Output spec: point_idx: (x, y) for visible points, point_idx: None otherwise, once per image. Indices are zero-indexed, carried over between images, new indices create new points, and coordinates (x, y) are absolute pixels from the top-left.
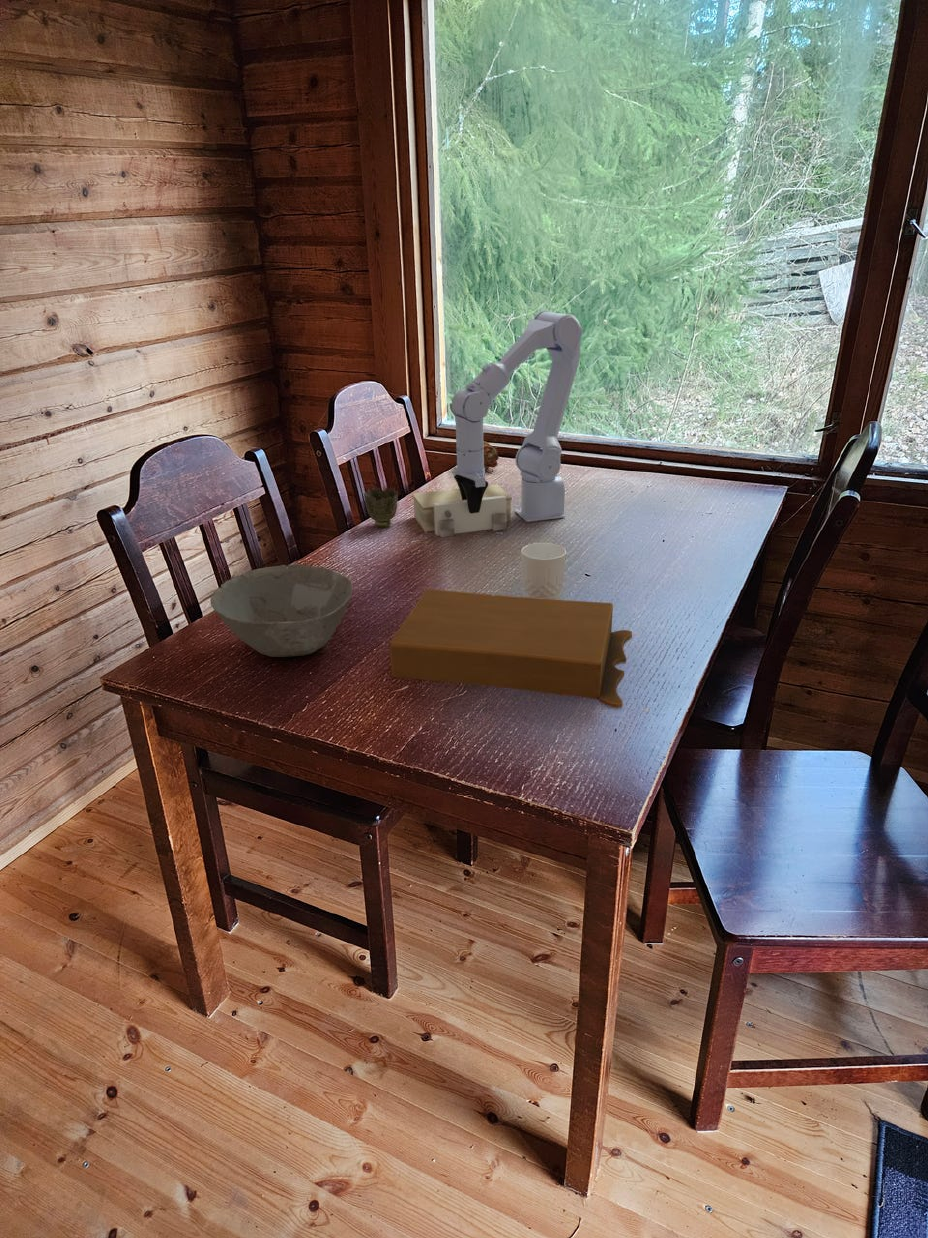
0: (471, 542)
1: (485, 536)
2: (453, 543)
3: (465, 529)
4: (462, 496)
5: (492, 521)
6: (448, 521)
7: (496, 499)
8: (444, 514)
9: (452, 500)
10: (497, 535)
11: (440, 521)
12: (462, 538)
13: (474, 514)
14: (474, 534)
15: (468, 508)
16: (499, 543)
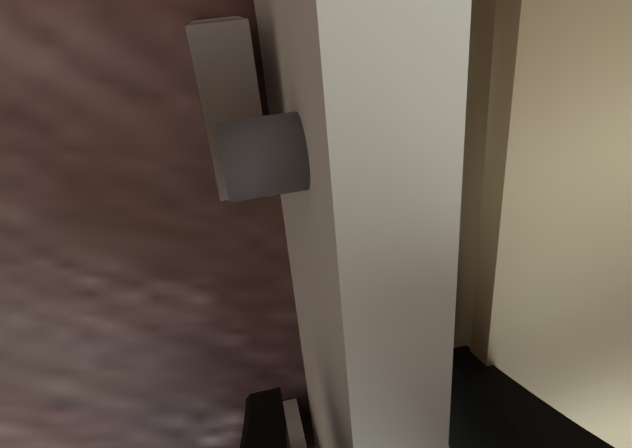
0: (44, 263)
1: (171, 357)
2: (18, 115)
3: (290, 250)
4: (523, 435)
5: (304, 443)
6: (208, 133)
7: None
8: (297, 108)
9: (623, 265)
10: (180, 420)
11: (213, 27)
12: (146, 205)
13: (322, 393)
14: (224, 294)
15: (268, 422)
16: (19, 430)
